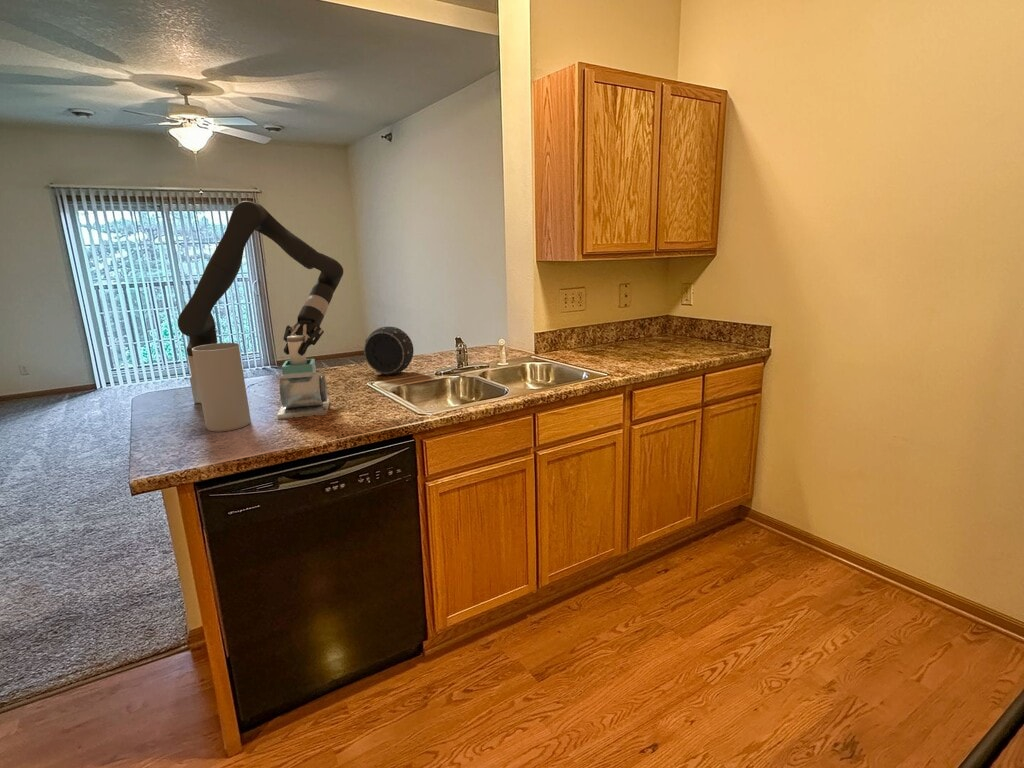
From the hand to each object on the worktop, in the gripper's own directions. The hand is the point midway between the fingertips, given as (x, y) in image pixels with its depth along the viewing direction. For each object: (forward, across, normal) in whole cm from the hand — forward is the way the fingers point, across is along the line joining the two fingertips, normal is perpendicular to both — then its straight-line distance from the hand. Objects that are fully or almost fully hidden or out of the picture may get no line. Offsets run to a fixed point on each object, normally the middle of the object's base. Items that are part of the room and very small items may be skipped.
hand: (293, 353), depth 175 cm
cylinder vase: (+27, -13, +2) cm, 30 cm away
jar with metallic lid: (+2, 0, +5) cm, 5 cm away
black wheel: (-24, +1, +53) cm, 58 cm away
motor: (+13, 0, +15) cm, 20 cm away
